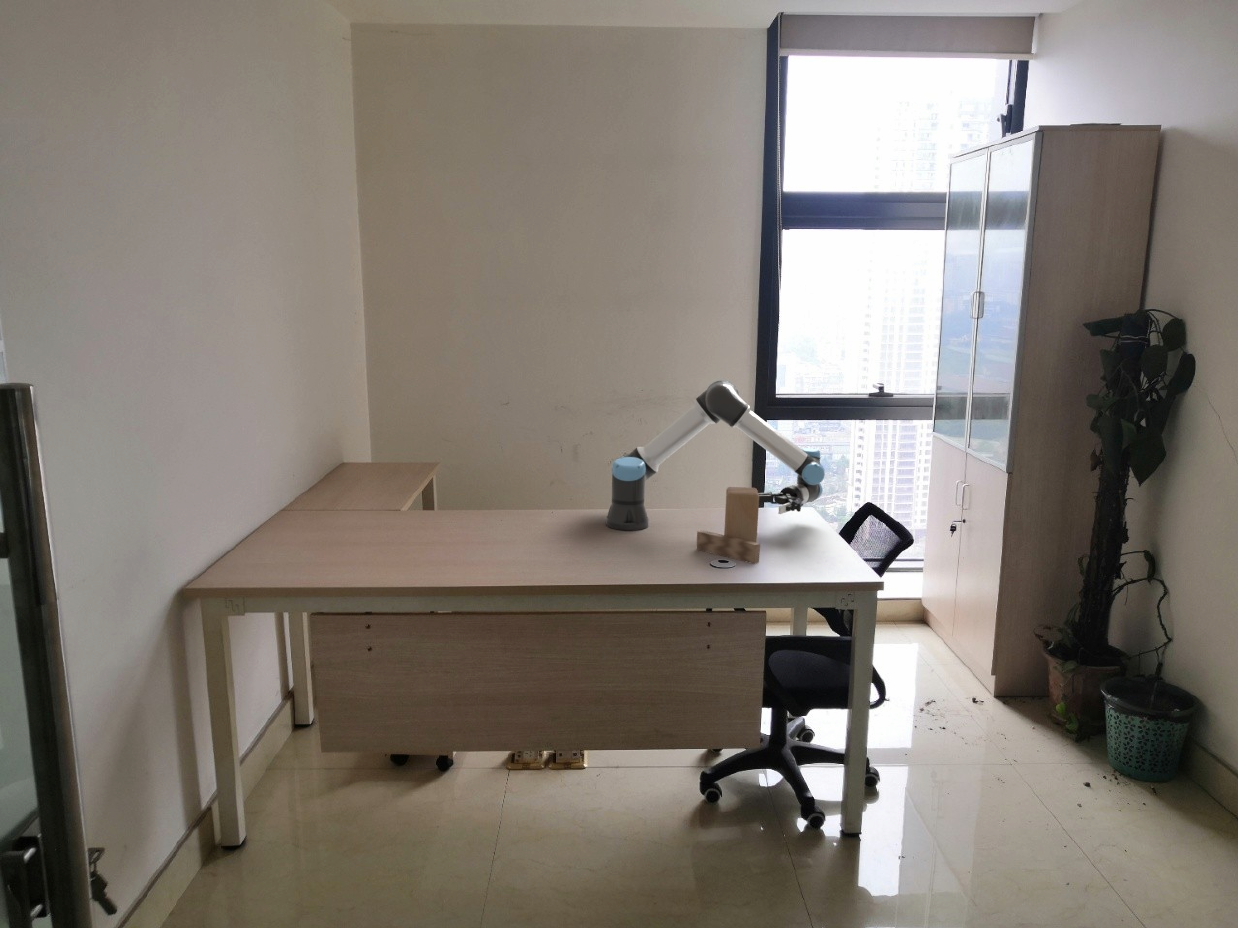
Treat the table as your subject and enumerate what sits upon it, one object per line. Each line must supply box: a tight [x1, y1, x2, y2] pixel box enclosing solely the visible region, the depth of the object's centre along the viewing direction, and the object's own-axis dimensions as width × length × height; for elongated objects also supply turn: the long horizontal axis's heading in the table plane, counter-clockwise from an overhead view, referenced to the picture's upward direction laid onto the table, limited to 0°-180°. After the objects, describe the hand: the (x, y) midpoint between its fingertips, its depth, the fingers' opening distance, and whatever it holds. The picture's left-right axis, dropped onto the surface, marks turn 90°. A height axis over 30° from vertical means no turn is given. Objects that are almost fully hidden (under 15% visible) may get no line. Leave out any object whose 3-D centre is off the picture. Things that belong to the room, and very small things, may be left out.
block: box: [723, 486, 760, 543], centre depth 289 cm, size 10×10×20 cm
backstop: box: [696, 529, 761, 565], centre depth 284 cm, size 22×2×6 cm, turn 50°
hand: (761, 506), depth 299 cm, fingers open, 13 cm apart
